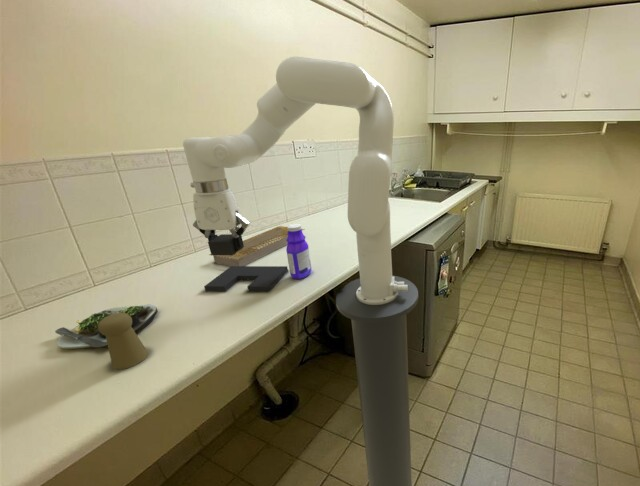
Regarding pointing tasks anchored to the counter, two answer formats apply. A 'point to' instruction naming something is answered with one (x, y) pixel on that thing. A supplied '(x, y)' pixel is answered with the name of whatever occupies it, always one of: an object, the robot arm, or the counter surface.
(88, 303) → the counter surface
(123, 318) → the cork
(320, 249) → the counter surface
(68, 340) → the salad plate
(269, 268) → the base pad
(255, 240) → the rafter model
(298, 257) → the bottle
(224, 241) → the black square block
